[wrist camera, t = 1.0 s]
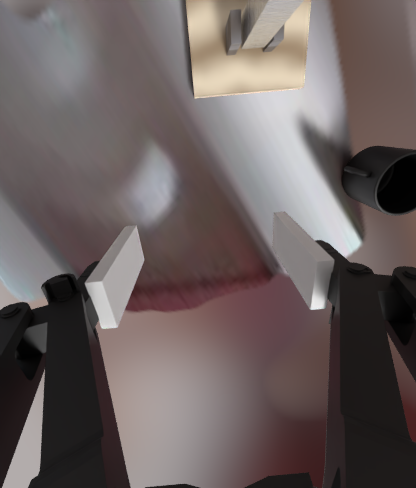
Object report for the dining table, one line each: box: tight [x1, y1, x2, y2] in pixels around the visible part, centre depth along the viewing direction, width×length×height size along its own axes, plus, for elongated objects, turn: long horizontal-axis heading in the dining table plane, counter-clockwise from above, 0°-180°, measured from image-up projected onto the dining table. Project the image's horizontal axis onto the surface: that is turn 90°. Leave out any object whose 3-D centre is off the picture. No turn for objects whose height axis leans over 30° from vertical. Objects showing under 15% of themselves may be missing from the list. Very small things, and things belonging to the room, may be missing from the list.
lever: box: [241, 0, 304, 49], centre depth 22 cm, size 4×4×17 cm
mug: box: [343, 146, 416, 216], centre depth 38 cm, size 9×12×9 cm
